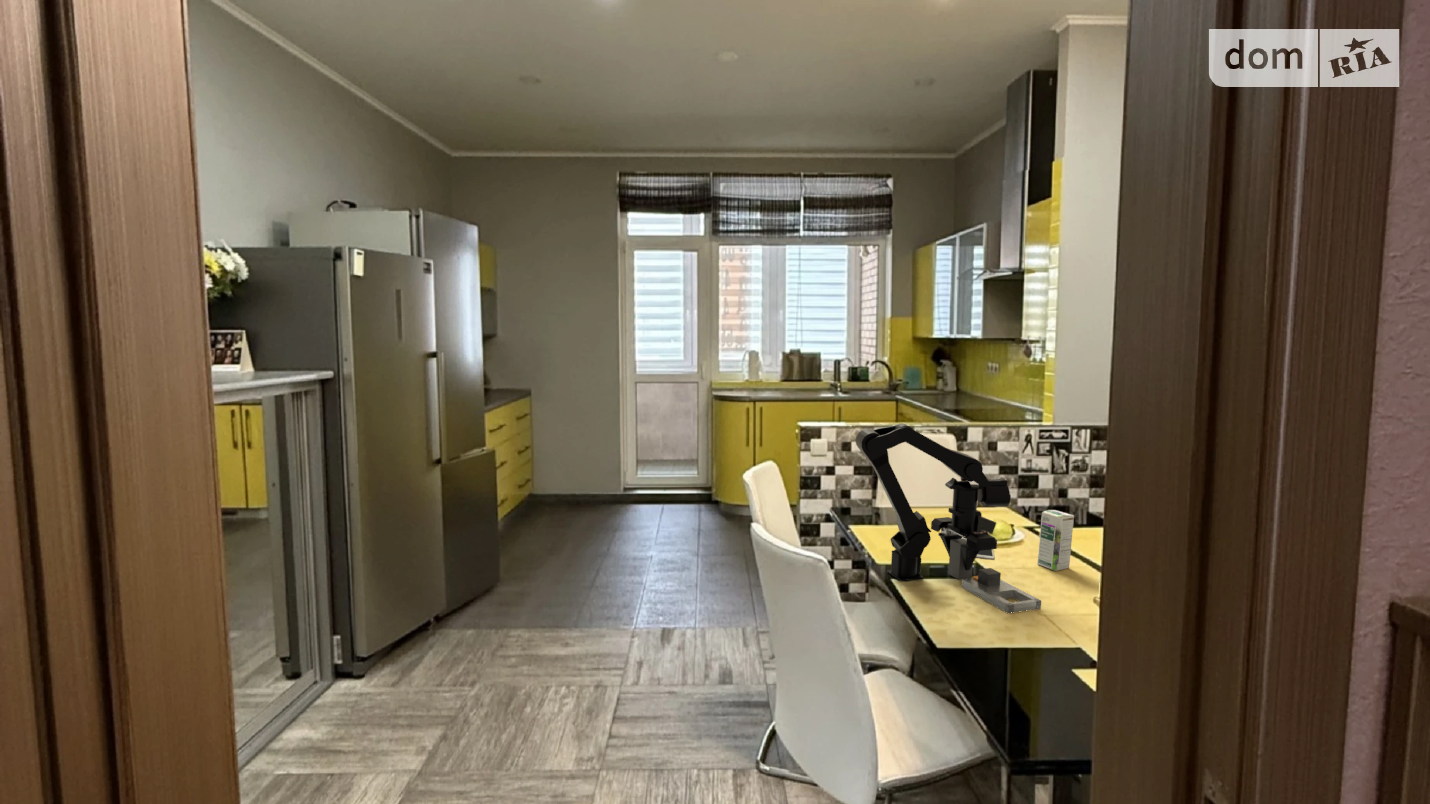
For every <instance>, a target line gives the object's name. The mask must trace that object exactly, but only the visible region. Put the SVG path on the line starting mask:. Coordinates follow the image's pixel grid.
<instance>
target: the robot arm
mask: <svg viewBox="0 0 1430 804" xmlns="http://www.w3.org/2000/svg"><path fill="white" fill-rule="evenodd" d="M903 443H907V444H908V445H910V446H912V447H913V448H916V449H918V450H919V451H921V452H923V453H925V454H926V455H928V456H930V457H932V458H934V459H935V460H937V461H939V462H941V463H942V465H944V466H945V467H947V469H949V470H950V471H951V472H952V473H953V474H955V475H956V476H957V477H959V478H960V479H962V480H957V479H956V478H954V477H952V478H951V479H950V480H948V481H947V482H946V483H945V484H944V485H945V487H946V488H948V489H950V490H953V491H952V507H948V513H950V514H951V517H950V516H948V517H947V516H946V517H944V516H943V517H934V518H933V520H932V521H931V523H930V528H929V527H928V525H927V521H926V518H925V517H924V516H923V515H922V513H920V512H919V511H917V510H915V511H913V509H912V507H911V505H910V503H909V501H908V499H907V497H906V495H905V493H904V491H903V488H902V487H901V484H900V482H899V480H898V478H897V476H896V474H895V472H894V470H893V468H892V466H891V463H890V460H889V451H888V450H890V449H892V448H894V447H896V446H899V445H901V444H903ZM855 445H856V446H857V448H858V449H859V451H860V452H861V453H862V454H861V455H863V456H864V458H865V459H866V461H868V462H869V464H870V465H871V466H872V468H873V470H874V472H875V474H876V476H877V478H878V480H879V482H880V484H881V486H882V488H883V491H884V493H885V494H886V496H887V499H888V501H889V503H890V504H891V507H892V509H893V511H894V513H895V516H896V522H897V528H898V531H897V532H896V533H895V534H894V535H893V536H892V537H891V538H890V540H889V541H890V543H891V546H892V547H893V548H894V550H891V565H890V569H888V570H886V571H887V574H889V575H890V576H892V577H894V578H896V579H897V580H899V581H903V582H904V581H912V580H921V579H923V578H924V577H923V576H924V575H921V570H922V569H921V568H922V554H923V553H924V550H925V549H926V548H927V547H928V546H929V544H930V542H931V539H932V538H931V535H930V533H932V530H933V531H935V532H939V533H938V536H939V537H940V539H941V542H942V543H943V545H944V547H945V550H946V552H947V554H948V558H949V557H950V541H951V540H953V539H963V538H964V539H967V544H962V545H961V550H962V555H963V561H964V566H965V570H970V569H971V566H972V564H974V562H975V560H976V556H977V554H978V553H979V551H982V550H991V549H993V550H997V546H998V540H997V539H996V537H994V536H992V535H993V533H994V531H995V528H996V525H997V522H996V521H994V520H991V519H989V518H986V517H984V516H982V512H981V511H980V510H978V509H977V507H978V502H979V503H981V505H982V506H983V507H1008V506H1009V505H1010V503H1011V500H1012V499H1011V498H1012V496H1011V492H1010V488H1009V485H1008V480H1007V479H1004V478H995V479H990V478H989V479H988V478H987V477H986V475H985V473H984V472H983V471H984V470H983V469H984V468H983V464H982V462H981V461H979V460H978V459H976V458H975V457H973V456H970V455H969V454H966V453H963V452H960V451H957V450H954V449H950V448H947V447H945V446H943V445H942V444H940V443H938V442H937V441H934V440H932V439H931V438H929V437H928V436H925V435H924V434H922V433H920V432H918V431H916V430H914V429H913V428H912V427H911V426H910V425H907V424H906V423H903V422H901V423H898V424H894V425H891V426H885V427H879V428H876V429H871V428H864V429H862V430H860V431H858V433H857V435H856V436H855ZM971 482H974V483H976V484H973V483H971ZM982 531H984V532H985V533H984V532H983V533H981V532H982ZM986 532H987V533H986ZM988 533H989V534H988Z"/></svg>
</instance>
